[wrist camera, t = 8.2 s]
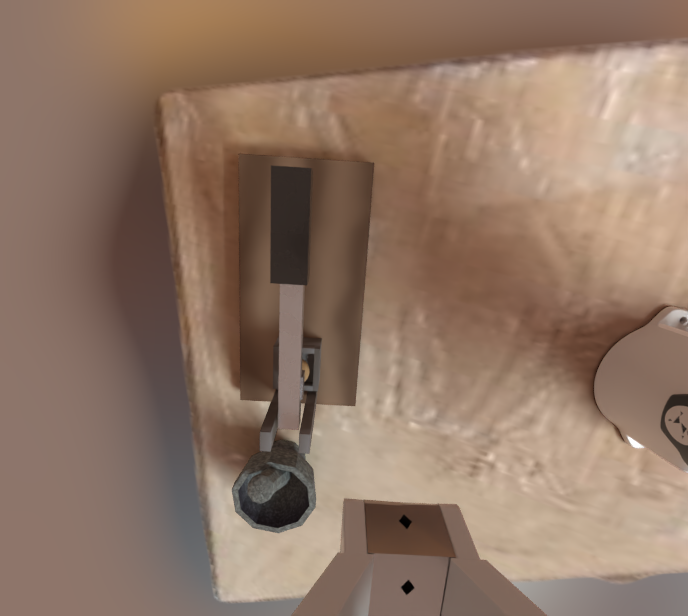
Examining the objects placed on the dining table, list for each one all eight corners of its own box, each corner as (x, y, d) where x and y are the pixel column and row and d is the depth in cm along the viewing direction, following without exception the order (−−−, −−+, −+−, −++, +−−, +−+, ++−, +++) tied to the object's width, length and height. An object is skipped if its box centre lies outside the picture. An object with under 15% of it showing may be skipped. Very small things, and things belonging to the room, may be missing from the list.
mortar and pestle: (320, 489, 51) (314, 571, 39) (252, 492, 51) (226, 576, 39) (314, 415, 48) (305, 481, 36) (242, 419, 48) (209, 486, 36)
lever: (315, 171, 32) (311, 167, 28) (306, 415, 39) (301, 441, 35) (280, 169, 32) (270, 165, 28) (277, 413, 39) (269, 439, 35)
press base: (372, 165, 40) (386, 143, 28) (354, 398, 47) (359, 465, 35) (243, 156, 40) (198, 130, 27) (244, 392, 47) (208, 457, 34)
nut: (311, 353, 41) (308, 364, 38) (310, 378, 42) (307, 391, 39) (283, 352, 41) (279, 362, 38) (283, 377, 42) (278, 389, 39)
